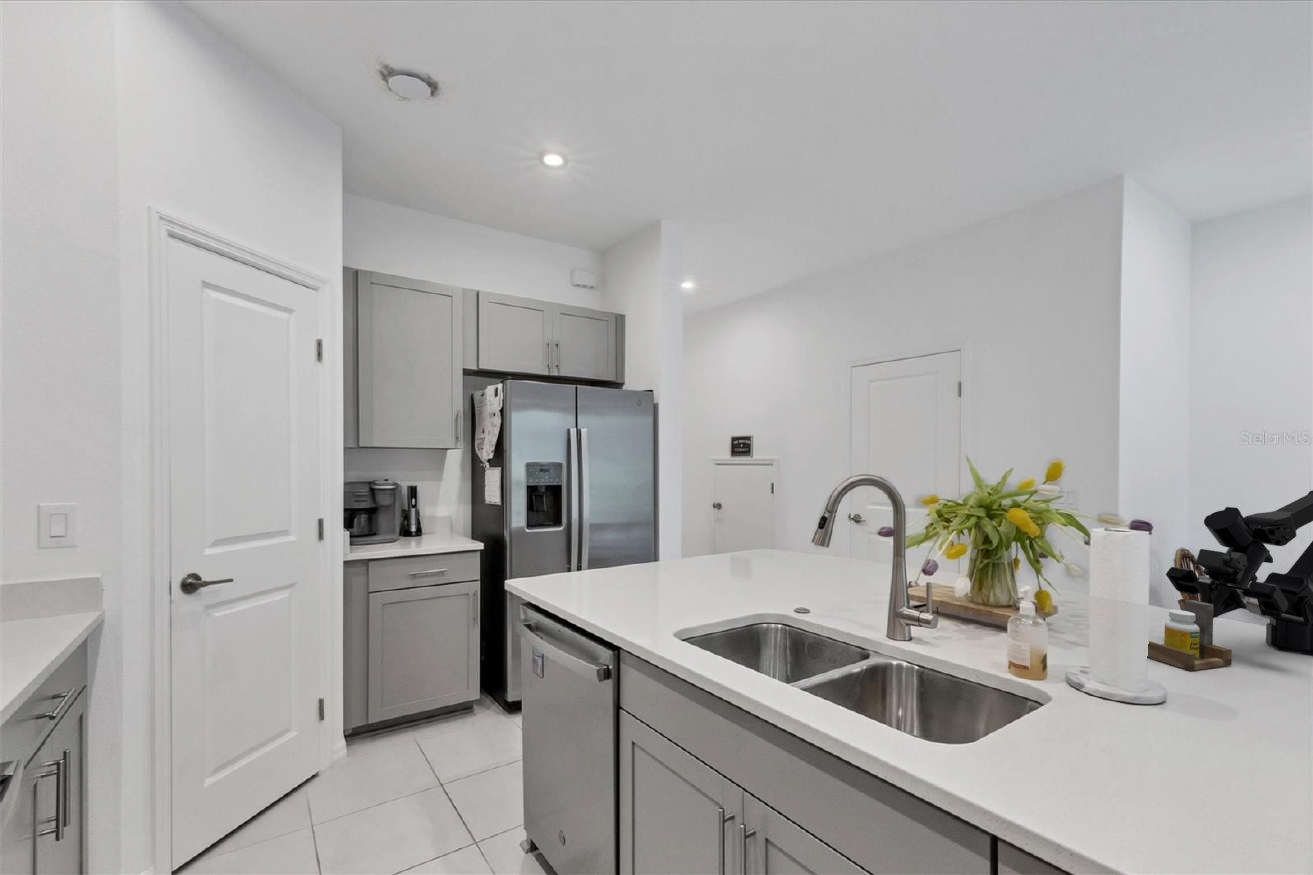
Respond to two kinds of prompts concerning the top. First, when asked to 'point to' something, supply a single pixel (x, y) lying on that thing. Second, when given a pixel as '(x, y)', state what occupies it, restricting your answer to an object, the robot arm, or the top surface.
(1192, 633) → the supplement bottle
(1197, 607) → the wooden display stand
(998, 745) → the top surface
